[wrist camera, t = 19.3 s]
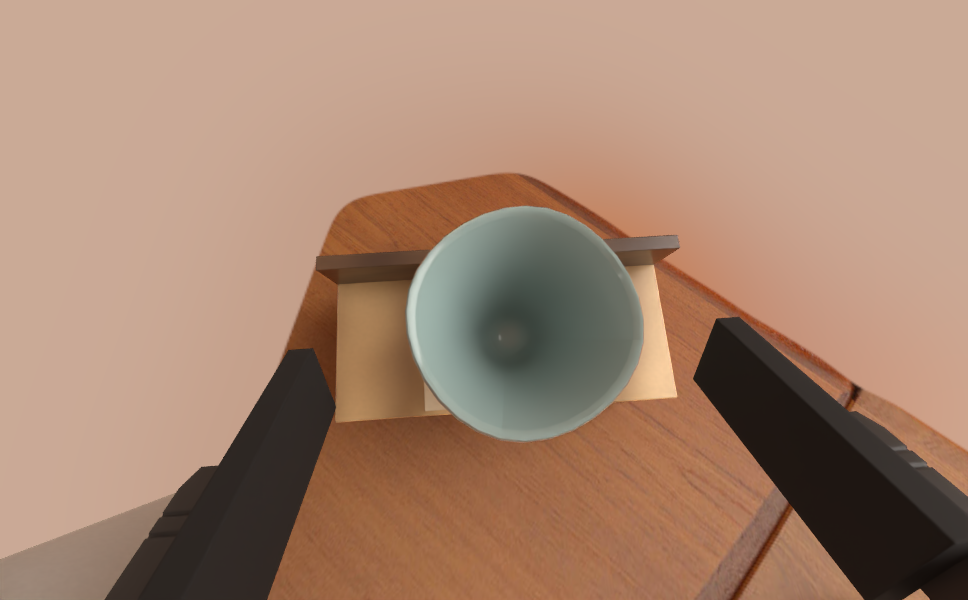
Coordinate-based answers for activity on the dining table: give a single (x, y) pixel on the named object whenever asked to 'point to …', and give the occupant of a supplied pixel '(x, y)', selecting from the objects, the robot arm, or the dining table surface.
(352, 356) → the shelf
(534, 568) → the dining table surface
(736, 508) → the dining table surface
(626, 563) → the dining table surface
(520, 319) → the cup
